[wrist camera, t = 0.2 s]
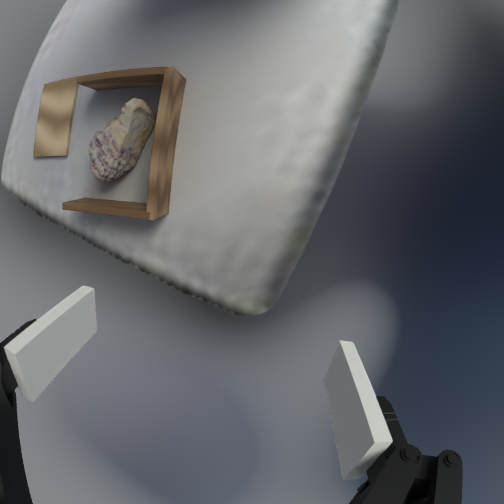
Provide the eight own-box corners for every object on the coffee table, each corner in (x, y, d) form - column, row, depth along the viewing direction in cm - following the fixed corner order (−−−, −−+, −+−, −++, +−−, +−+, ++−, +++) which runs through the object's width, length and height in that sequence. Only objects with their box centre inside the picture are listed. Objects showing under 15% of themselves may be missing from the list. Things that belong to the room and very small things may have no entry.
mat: (46, 84, 34) (44, 84, 34) (80, 77, 34) (78, 76, 34) (35, 156, 38) (33, 156, 38) (67, 155, 38) (65, 155, 38)
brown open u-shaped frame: (98, 84, 35) (77, 76, 29) (186, 79, 35) (173, 66, 29) (84, 203, 40) (62, 209, 35) (168, 213, 40) (152, 220, 34)
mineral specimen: (127, 95, 36) (107, 86, 30) (163, 110, 36) (146, 102, 30) (93, 168, 39) (71, 170, 33) (126, 187, 40) (106, 190, 34)
